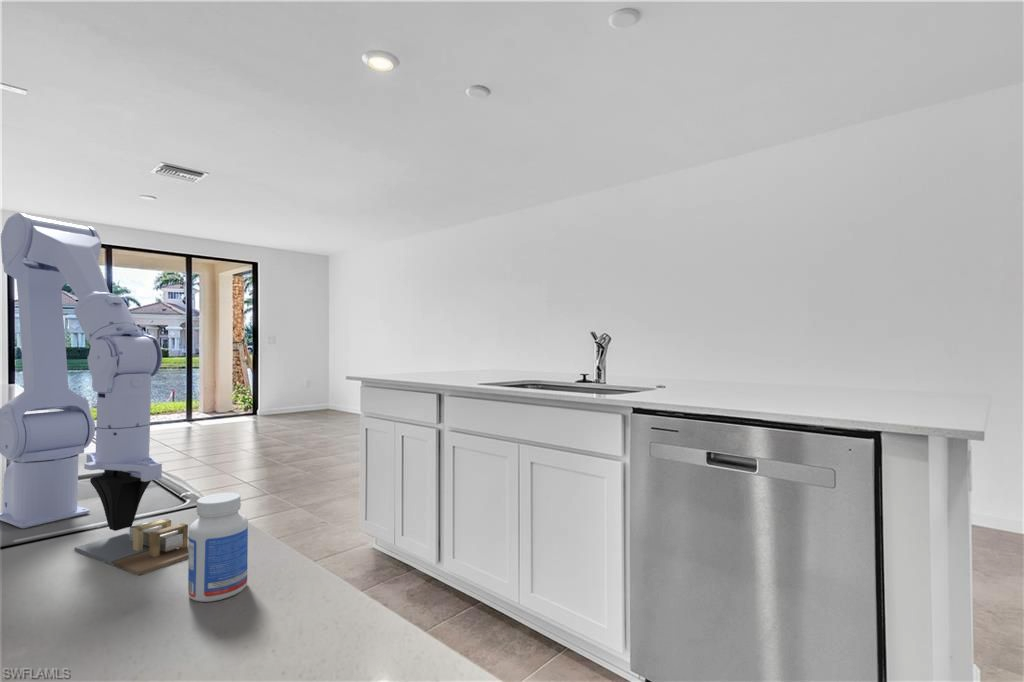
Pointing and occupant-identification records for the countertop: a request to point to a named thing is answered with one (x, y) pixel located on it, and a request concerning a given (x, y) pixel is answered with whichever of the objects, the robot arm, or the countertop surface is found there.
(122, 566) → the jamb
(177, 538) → the bolt
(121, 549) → the door
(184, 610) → the countertop surface
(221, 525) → the pill bottle
